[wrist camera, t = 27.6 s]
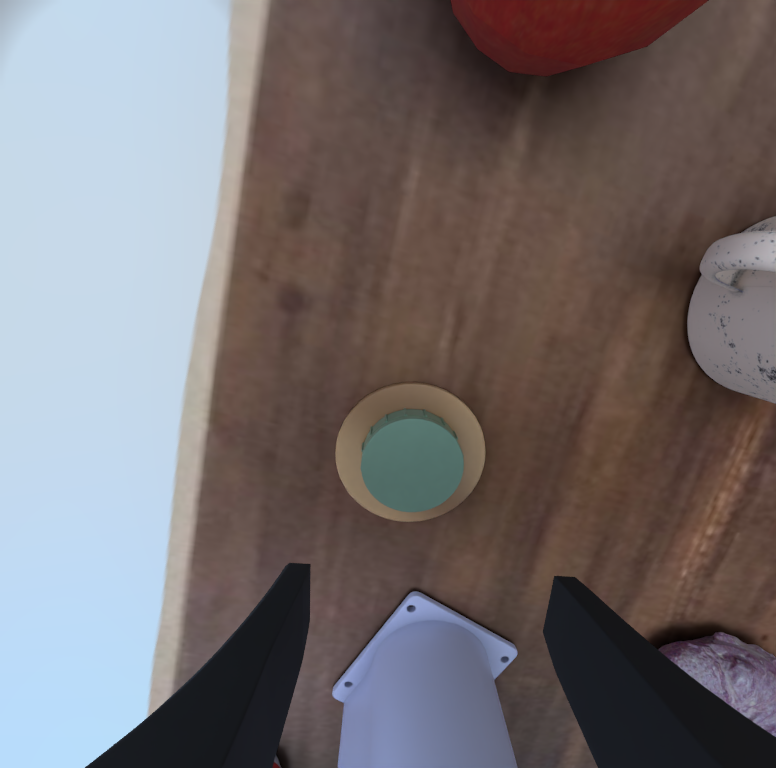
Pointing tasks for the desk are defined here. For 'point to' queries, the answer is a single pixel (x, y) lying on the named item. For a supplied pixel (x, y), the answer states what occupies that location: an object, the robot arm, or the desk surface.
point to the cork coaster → (396, 400)
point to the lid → (411, 460)
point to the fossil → (731, 673)
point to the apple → (565, 29)
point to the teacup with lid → (738, 312)
